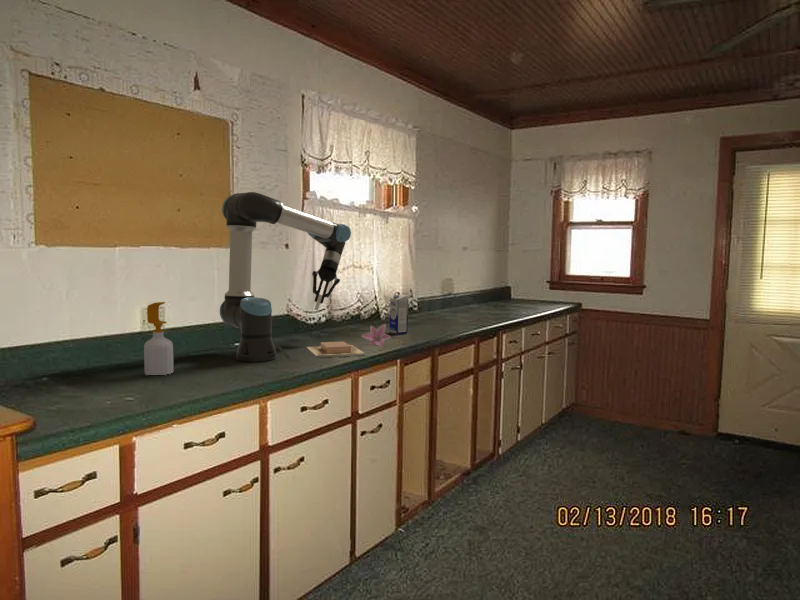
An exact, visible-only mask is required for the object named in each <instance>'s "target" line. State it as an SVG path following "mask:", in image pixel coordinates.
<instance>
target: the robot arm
mask: <svg viewBox="0 0 800 600" xmlns="http://www.w3.org/2000/svg"><path fill="white" fill-rule="evenodd" d="M221 212H222V216H223V217H224V219H225V220H226V225H225V226H226V228H227V229H228V230H229V232H230V233H229V263H228V264H229V265H228V268H229V269H228V271H229V273H228V289H227V290H228V291H226V292H225V293H224V301H223V302H222V303H221V304H220V307H219V316H220V319H221V320H222V322H223V323H225V324H226V325H228V326H229V327H231V328H235V329H236V328H237V329H240V341H239V344H238V347H237V351H236V360H237V361H240V360H241V362H247V361H249V362H252V363H254V362H257V363H258V361H259V362H269V361H272V360H276V358H277V350H276V347H275V344H274V342H273V338H272V334H273V333H272V329H273V327H272V325H273V324H272V323H273V322H272V315H273V313H272V312H273V311H272V310H273V308H272V302H271V301H270V300H269V299H267V298H263V297H256V296H255V294H254V292H252V291H251V290H252V288H251V287H252V259H253V258H252V257H253V256H252V253H253V250H252V249H253V232H254V231H255V230H256V229H257V223H268V224H271V225H275V224H280V225H283V226H285V227H288V228H293V229H295V230H299V231H302V232H305V233H307V234H308V236H310V237H311V238H312V239H313V240H315V241H316V242H318V243H319V244H320V245H322V246H323V247H325V248H326V249H325V251H324V255H323V258H322V262H321V265H320V267H319V269H318V270H313V271H312V278H313V279H312V280H313V281H312V293H313V294H314V295H315V296H314V297H315V298H314V300H313V301H314V303H315V307H314V310H315V311H319V308H320V306H321V305H323V303H324V301H325V298H330V296H331V294H332V292H333V291H334V289H335V287H336V286H337V285H338V284H340V281H341V279H340V278H338V277H337V272H338V268H339V265H340V261H341V258H342V255H343V252H344V248H345V245H346V242H348V241H349V240H350V238H351V235H352V231H351V228H350V226H348V225H347V224H343V223H336V222H333V221H330V220H327V219H325V218H322V217H318V216H316V215H313V214H310V213H307V212H305V211H303V210H299V209H297V208H293V207H290V206H287V205H286V204H284V203H282V201H281V200H279V199H275V198H273V197H271V196H268V195H265V194H262V193H259V192H255V191H250V192H236V193H234V194H231V195H229V196H228V197H226V198H225V200H224V201H223V203H222V206H221ZM318 276H319V278H320V281H319V285H318V287H317V279H318ZM332 281H333V283H332V285H331V286H330V288H329V284H330V282H332ZM324 282H325V283H324ZM323 285H324V288H323V291H322V294H320V293H321V290H322V287H323ZM328 288H329V290H328Z"/></svg>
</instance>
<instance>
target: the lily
mask: <svg viewBox="0 0 800 600" xmlns="http://www.w3.org/2000/svg"><path fill="white" fill-rule="evenodd" d="M386 327H387V324H386V323H384V324H381V325H380V326H379V327H377V328H376V327H375V326H373V325H370V327H369V328H370V332H369V331H368V332H366V333H363V334H361V337H362V338H363V339H366V340H368V341H369V343H368V345H369V346H375V345H377V346H378V347H379V348H381V349H382V348H384V349H385V340H388V339H390V338H392V336H391V335H389V334H387V333H386Z"/></svg>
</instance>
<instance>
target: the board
mask: <svg viewBox="0 0 800 600" xmlns="http://www.w3.org/2000/svg"><path fill="white" fill-rule="evenodd" d="M349 345H350V346H351V352H350V353H332V354H327V353H326V352H324V351H323V350H322V349H321V345H319V346H306V349H308V350H309V351H310V353H312V354H313V355H314V356H317V357H318V356H319V357H320V356H327V357H321V359H333V358H332V357H333V356H336V355H337V356H338V355H340V358H351V357H350V356H351V355H356V354H361V355H359V357H365V355H362V354H365V352H363V351H362V350H361V349H359V348H358V347H356V346H355V345H352V344H349ZM342 355H344V356H342ZM345 355H346V356H345Z"/></svg>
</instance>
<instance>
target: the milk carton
mask: <svg viewBox="0 0 800 600" xmlns="http://www.w3.org/2000/svg"><path fill="white" fill-rule="evenodd" d="M408 315H409V295H407V294H395V295H393V296H392V297H389V333H390V332H391V333H390V334H392V333H395V334H394V335H396V334H399V335H404V334H403V333H408V332H409V331H408V327H409V326H408V325H409V324H408V321H409V319H408V318H409V316H408Z"/></svg>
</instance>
